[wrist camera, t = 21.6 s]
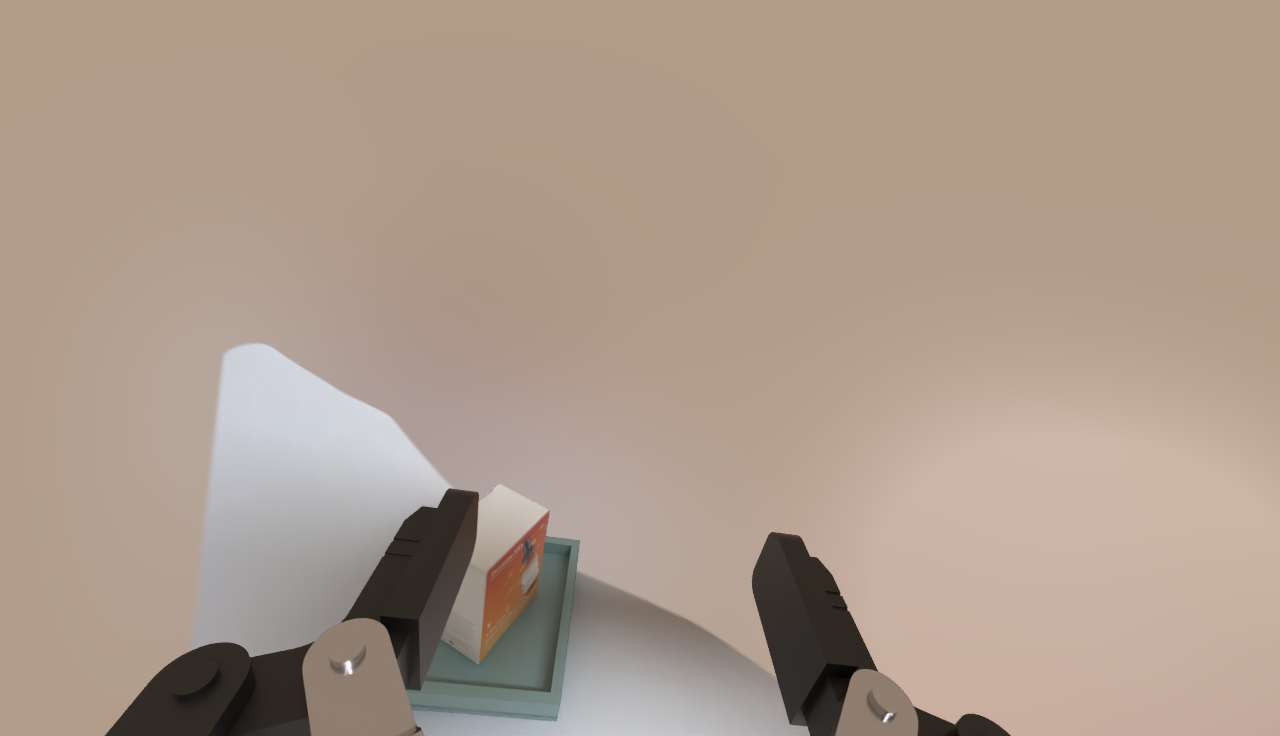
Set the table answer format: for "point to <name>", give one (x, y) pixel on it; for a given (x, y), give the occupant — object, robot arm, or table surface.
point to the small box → (498, 572)
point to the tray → (513, 654)
